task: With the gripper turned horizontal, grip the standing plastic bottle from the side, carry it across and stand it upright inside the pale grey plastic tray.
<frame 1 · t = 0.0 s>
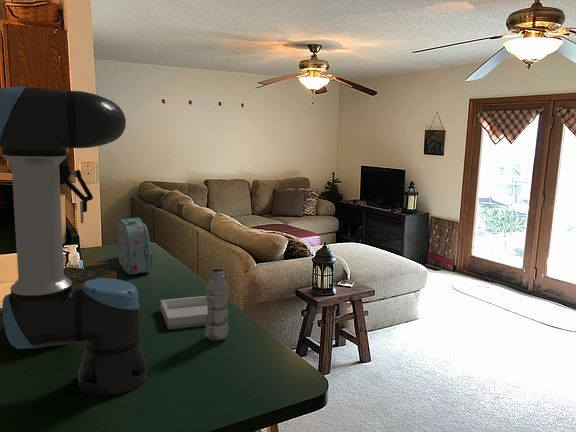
hand: (58, 223, 144), 28 cm above the countertop, tool pointing down, fingers open, 13 cm apart
sauce bottle: (135, 257, 213), on the countertop
plastic bottle: (216, 339, 133), on the countertop
decorative box: (71, 325, 138), on the countertop
tray: (193, 316, 148), on the countertop
lunch box: (134, 269, 196), on the countertop
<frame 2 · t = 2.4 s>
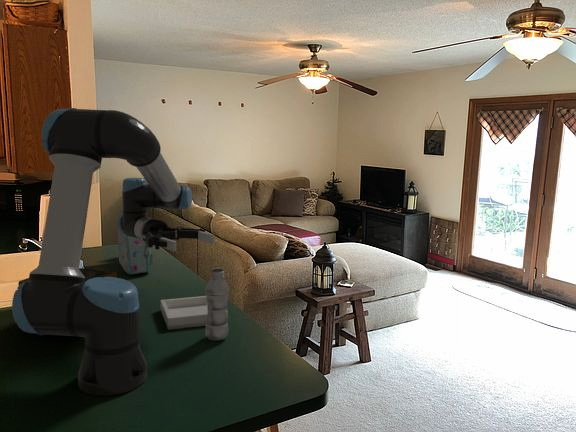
hand: (195, 242, 134), 26 cm above the countertop, tool horizontal, fingers open, 13 cm apart
nothing on the countertop moved.
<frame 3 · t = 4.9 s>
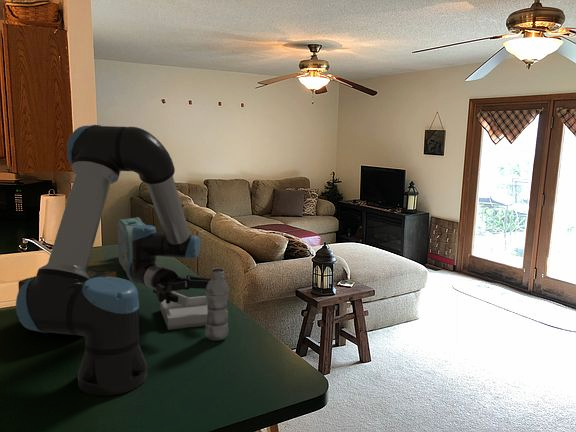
hand: (205, 296, 135), 11 cm above the countertop, tool horizontal, fingers open, 13 cm apart
nothing on the countertop moved.
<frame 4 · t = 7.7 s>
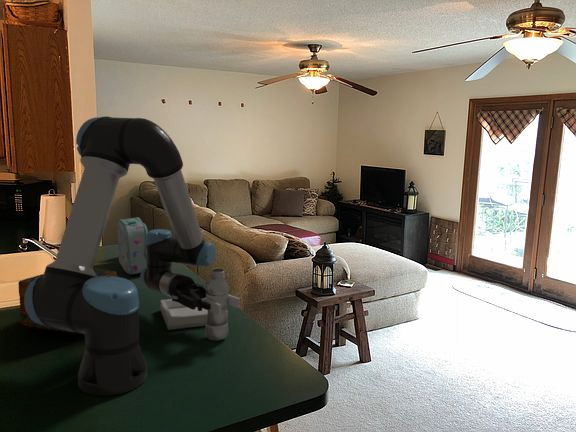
hand: (229, 306, 128), 11 cm above the countertop, tool horizontal, fingers closed on plastic bottle, 6 cm apart
plastic bottle: (216, 339, 133), on the countertop, touching gripper
everything else where it was.
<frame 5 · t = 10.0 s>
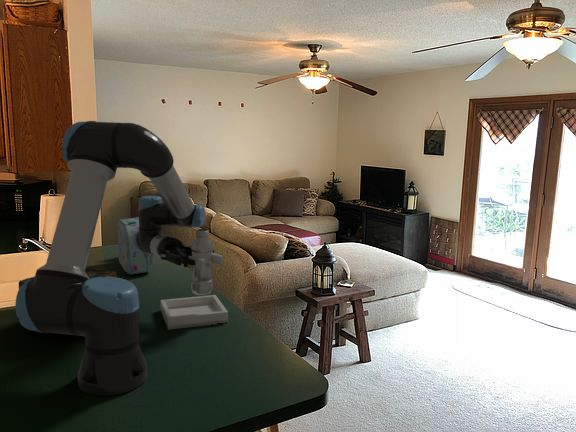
hand: (212, 262, 138), 20 cm above the countertop, tool horizontal, fingers closed on plastic bottle, 6 cm apart
plastic bottle: (201, 294, 143), point 8 cm above the countertop, touching gripper
everything else where it was.
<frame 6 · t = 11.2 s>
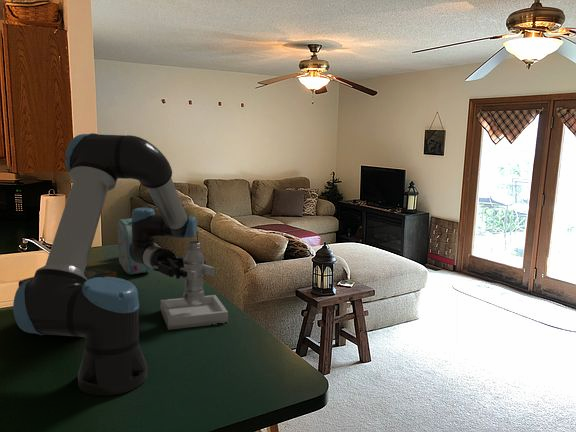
hand: (204, 274, 142), 15 cm above the countertop, tool horizontal, fingers closed on plastic bottle, 6 cm apart
plastic bottle: (193, 304, 147), point 4 cm above the countertop, touching gripper
everything else where it was.
when the fingers open (13 cm above the countertop, at t = 12.2 s): plastic bottle drops 1 cm, resting on tray.
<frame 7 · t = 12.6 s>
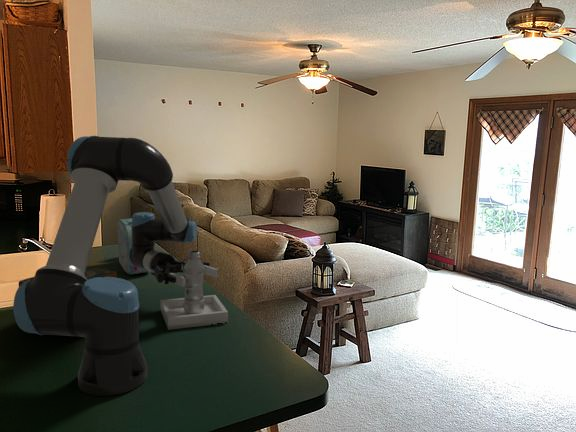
hand: (201, 277, 143), 13 cm above the countertop, tool horizontal, fingers open, 12 cm apart
plastic bottle: (194, 313, 148), point 1 cm above the countertop, touching tray
everything else where it was.
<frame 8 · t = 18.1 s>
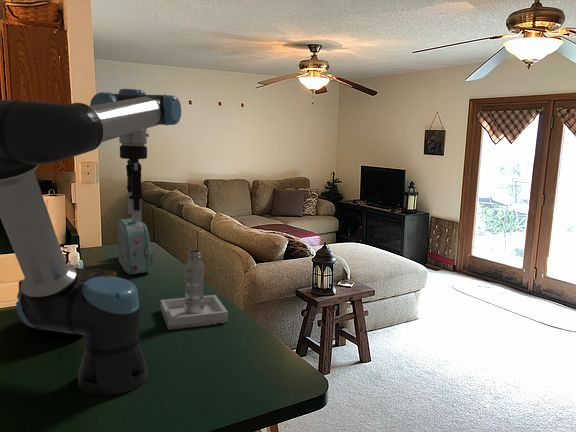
hand: (134, 217, 139), 32 cm above the countertop, tool pointing down, fingers open, 13 cm apart
nothing on the countertop moved.
at the end: plastic bottle inside the target area on the tray (0.2 cm from its centre), point 0.8 cm above the tray's base; plastic bottle tilted 0°; the gripper is holding nothing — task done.
